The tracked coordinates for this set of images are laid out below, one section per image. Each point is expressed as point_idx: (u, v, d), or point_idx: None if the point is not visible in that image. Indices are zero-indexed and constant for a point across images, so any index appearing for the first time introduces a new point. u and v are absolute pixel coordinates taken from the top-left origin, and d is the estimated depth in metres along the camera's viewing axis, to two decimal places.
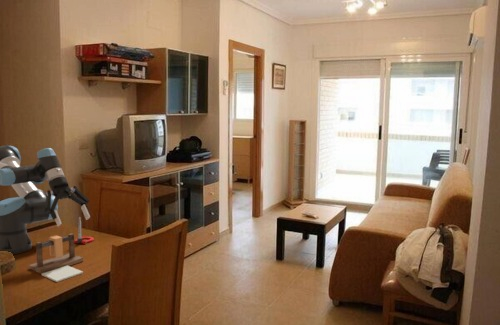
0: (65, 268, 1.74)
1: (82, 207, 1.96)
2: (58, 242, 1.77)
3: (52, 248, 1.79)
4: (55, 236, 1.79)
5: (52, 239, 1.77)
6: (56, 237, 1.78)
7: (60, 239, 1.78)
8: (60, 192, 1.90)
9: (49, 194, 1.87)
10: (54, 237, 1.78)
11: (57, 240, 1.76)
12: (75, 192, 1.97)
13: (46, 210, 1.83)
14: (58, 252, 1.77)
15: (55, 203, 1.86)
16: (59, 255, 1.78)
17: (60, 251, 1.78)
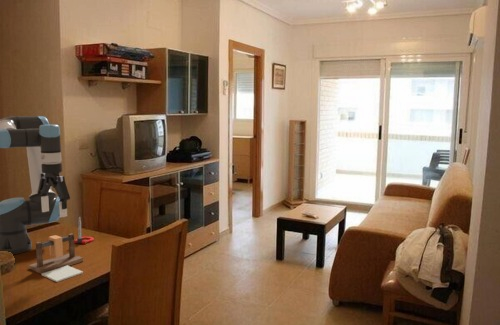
0: (65, 268, 1.74)
1: None
2: (58, 242, 1.77)
3: (52, 248, 1.79)
4: (55, 236, 1.79)
5: (52, 239, 1.77)
6: (56, 237, 1.78)
7: (60, 239, 1.78)
8: (45, 180, 1.75)
9: (41, 178, 1.78)
10: (54, 237, 1.78)
11: (57, 240, 1.76)
12: None
13: None
14: (58, 252, 1.77)
15: (42, 189, 1.78)
16: (59, 255, 1.78)
17: (60, 251, 1.78)
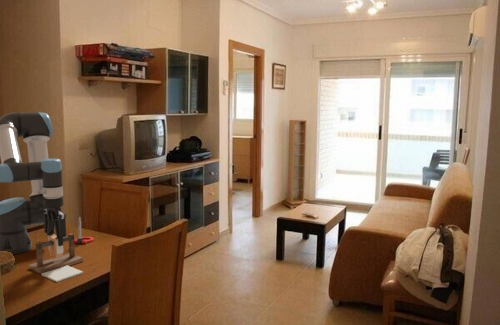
0: (65, 268, 1.74)
1: None
2: None
3: (52, 248, 1.79)
4: (55, 236, 1.79)
5: (52, 239, 1.77)
6: (56, 237, 1.78)
7: None
8: (47, 214, 1.76)
9: (44, 215, 1.79)
10: (54, 237, 1.78)
11: None
12: None
13: None
14: None
15: (48, 226, 1.78)
16: (59, 255, 1.78)
17: None
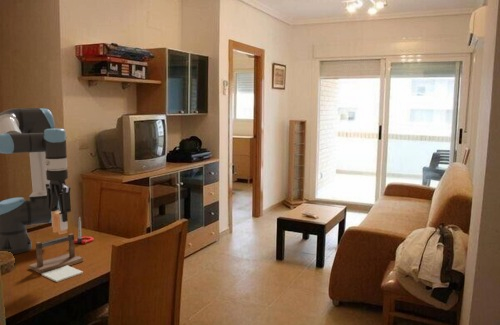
0: (65, 268, 1.74)
1: None
2: None
3: (56, 224, 1.68)
4: (59, 212, 1.68)
5: (56, 214, 1.66)
6: (60, 212, 1.67)
7: None
8: (51, 188, 1.65)
9: (47, 189, 1.68)
10: (58, 212, 1.66)
11: None
12: None
13: None
14: None
15: (51, 201, 1.67)
16: (63, 232, 1.66)
17: None
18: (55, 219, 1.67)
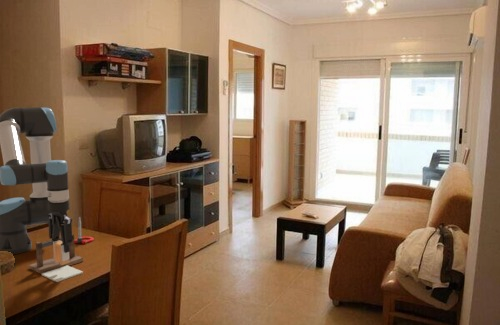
0: (65, 268, 1.74)
1: None
2: None
3: (57, 254, 1.69)
4: (60, 242, 1.69)
5: (57, 245, 1.67)
6: (61, 243, 1.68)
7: None
8: (52, 219, 1.67)
9: (48, 219, 1.70)
10: (59, 243, 1.68)
11: None
12: None
13: None
14: None
15: (53, 232, 1.69)
16: (65, 262, 1.68)
17: None
18: (57, 249, 1.69)
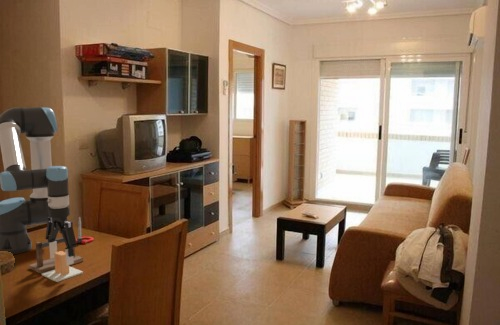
0: None
1: None
2: (64, 259, 1.68)
3: (58, 264, 1.70)
4: (61, 252, 1.70)
5: (58, 255, 1.68)
6: (62, 253, 1.69)
7: None
8: (52, 224, 1.67)
9: (48, 222, 1.70)
10: (60, 253, 1.69)
11: (63, 257, 1.67)
12: None
13: None
14: (64, 269, 1.68)
15: (50, 234, 1.70)
16: (65, 272, 1.69)
17: (66, 268, 1.69)
18: (57, 259, 1.70)
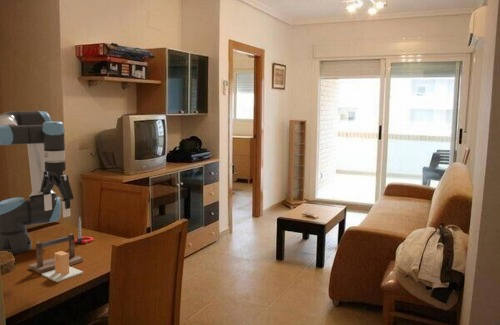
0: None
1: None
2: (64, 259, 1.68)
3: (58, 264, 1.70)
4: (61, 252, 1.70)
5: (58, 255, 1.68)
6: (62, 253, 1.69)
7: (66, 255, 1.68)
8: (48, 178, 1.70)
9: (44, 176, 1.73)
10: (60, 253, 1.69)
11: (63, 257, 1.67)
12: None
13: None
14: (64, 269, 1.68)
15: (45, 188, 1.74)
16: (65, 272, 1.69)
17: (66, 268, 1.69)
18: (57, 259, 1.70)
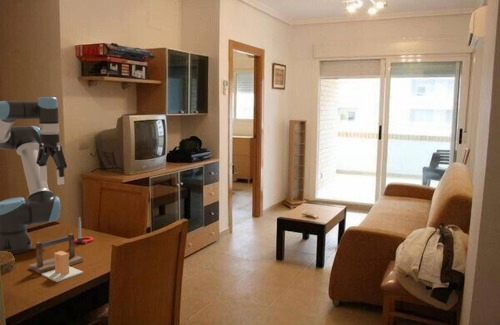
0: None
1: None
2: (64, 259, 1.68)
3: (58, 264, 1.70)
4: (61, 252, 1.70)
5: (58, 255, 1.68)
6: (62, 253, 1.69)
7: (66, 255, 1.68)
8: (44, 150, 1.84)
9: (39, 148, 1.88)
10: (60, 253, 1.69)
11: (63, 257, 1.67)
12: None
13: None
14: (64, 269, 1.68)
15: (41, 159, 1.88)
16: (65, 272, 1.69)
17: (66, 268, 1.69)
18: (57, 259, 1.70)
